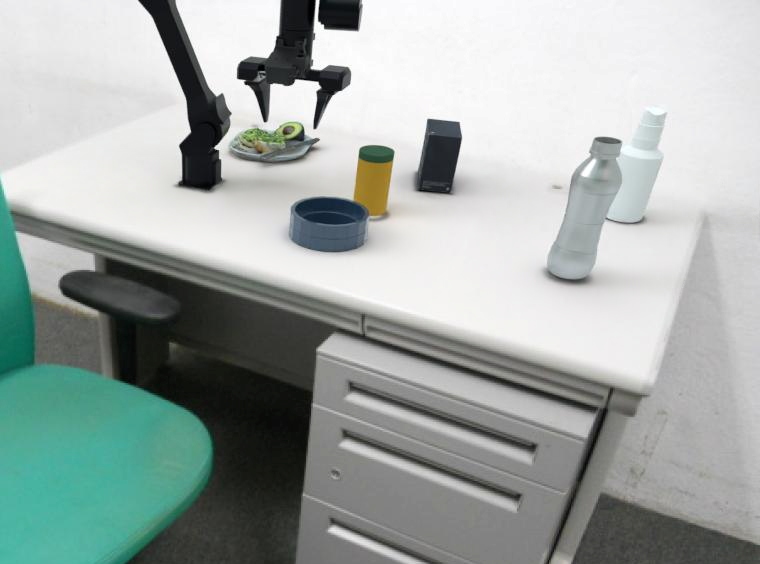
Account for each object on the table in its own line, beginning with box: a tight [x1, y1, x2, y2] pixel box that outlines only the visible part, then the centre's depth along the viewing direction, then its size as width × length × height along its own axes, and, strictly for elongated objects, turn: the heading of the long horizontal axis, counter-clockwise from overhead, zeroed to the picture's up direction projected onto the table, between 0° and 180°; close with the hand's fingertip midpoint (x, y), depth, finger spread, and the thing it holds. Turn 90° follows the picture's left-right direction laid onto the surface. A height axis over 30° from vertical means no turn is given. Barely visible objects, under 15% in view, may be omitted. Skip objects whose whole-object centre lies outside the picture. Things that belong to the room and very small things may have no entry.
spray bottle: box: [605, 106, 669, 223], centre depth 130 cm, size 7×7×18 cm
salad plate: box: [227, 121, 321, 163], centre depth 159 cm, size 19×18×5 cm
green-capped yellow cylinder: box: [352, 144, 396, 217], centre depth 131 cm, size 6×6×11 cm
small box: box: [416, 118, 463, 194], centre depth 144 cm, size 11×6×10 cm, turn 168°
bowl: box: [288, 195, 371, 253], centre depth 123 cm, size 12×12×5 cm
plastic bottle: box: [546, 136, 623, 280], centre depth 110 cm, size 6×7×20 cm
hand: (290, 125), depth 135 cm, fingers open, 9 cm apart
